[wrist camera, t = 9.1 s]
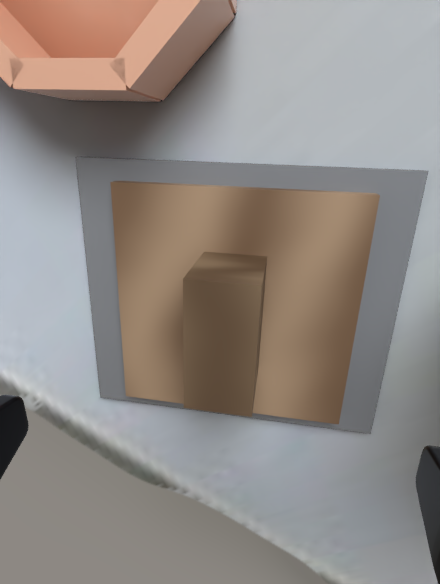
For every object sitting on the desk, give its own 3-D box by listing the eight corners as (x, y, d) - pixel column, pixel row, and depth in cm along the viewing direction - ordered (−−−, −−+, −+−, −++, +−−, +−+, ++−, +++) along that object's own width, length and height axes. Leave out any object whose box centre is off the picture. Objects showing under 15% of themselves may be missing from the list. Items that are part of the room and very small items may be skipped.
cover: (375, 193, 17) (407, 210, 12) (337, 414, 21) (349, 486, 17) (117, 180, 18) (64, 192, 14) (131, 388, 23) (93, 446, 18)
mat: (425, 170, 16) (428, 171, 16) (369, 428, 22) (370, 433, 21) (79, 156, 19) (75, 157, 18) (103, 393, 24) (100, 397, 24)
